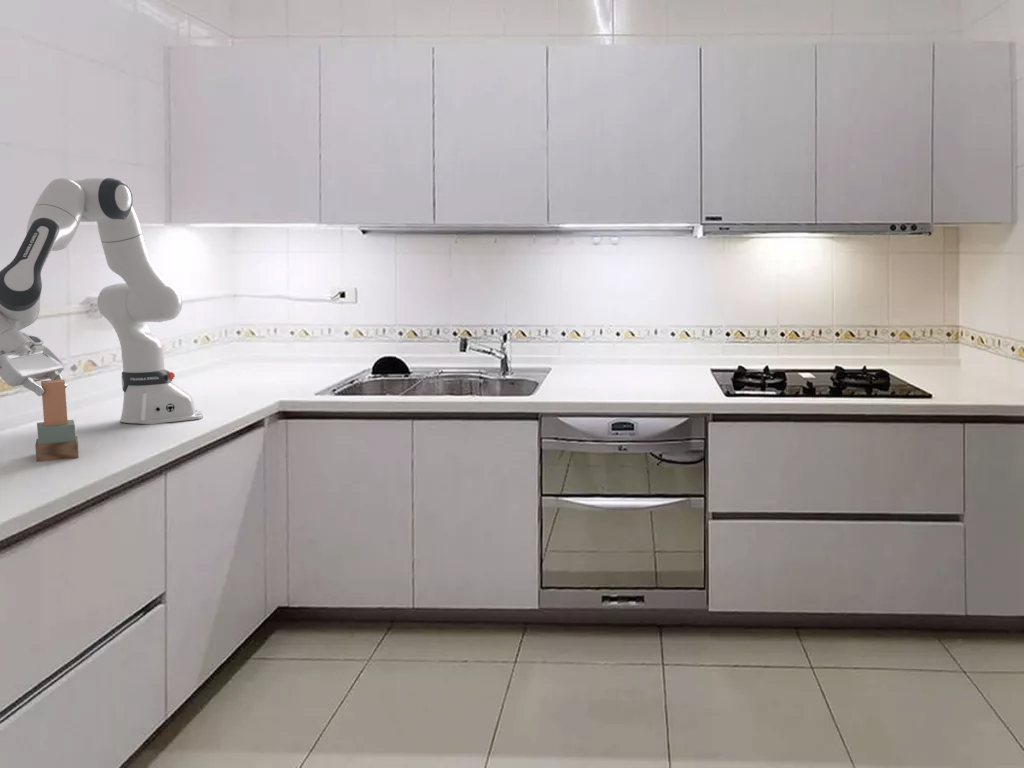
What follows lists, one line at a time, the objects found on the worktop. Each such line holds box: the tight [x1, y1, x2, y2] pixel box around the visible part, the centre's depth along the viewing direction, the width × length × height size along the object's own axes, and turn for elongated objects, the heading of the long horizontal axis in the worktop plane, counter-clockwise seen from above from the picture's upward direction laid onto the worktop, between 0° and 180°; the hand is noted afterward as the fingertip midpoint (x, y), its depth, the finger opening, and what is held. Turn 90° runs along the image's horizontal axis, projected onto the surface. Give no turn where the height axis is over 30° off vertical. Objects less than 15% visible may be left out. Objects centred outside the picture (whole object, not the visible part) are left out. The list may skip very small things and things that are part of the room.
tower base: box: [34, 435, 79, 462], centre depth 248 cm, size 9×9×4 cm
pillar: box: [40, 379, 68, 426], centre depth 247 cm, size 5×5×10 cm
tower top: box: [36, 419, 77, 445], centre depth 248 cm, size 8×8×4 cm
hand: (54, 391), depth 247 cm, fingers open, 8 cm apart
